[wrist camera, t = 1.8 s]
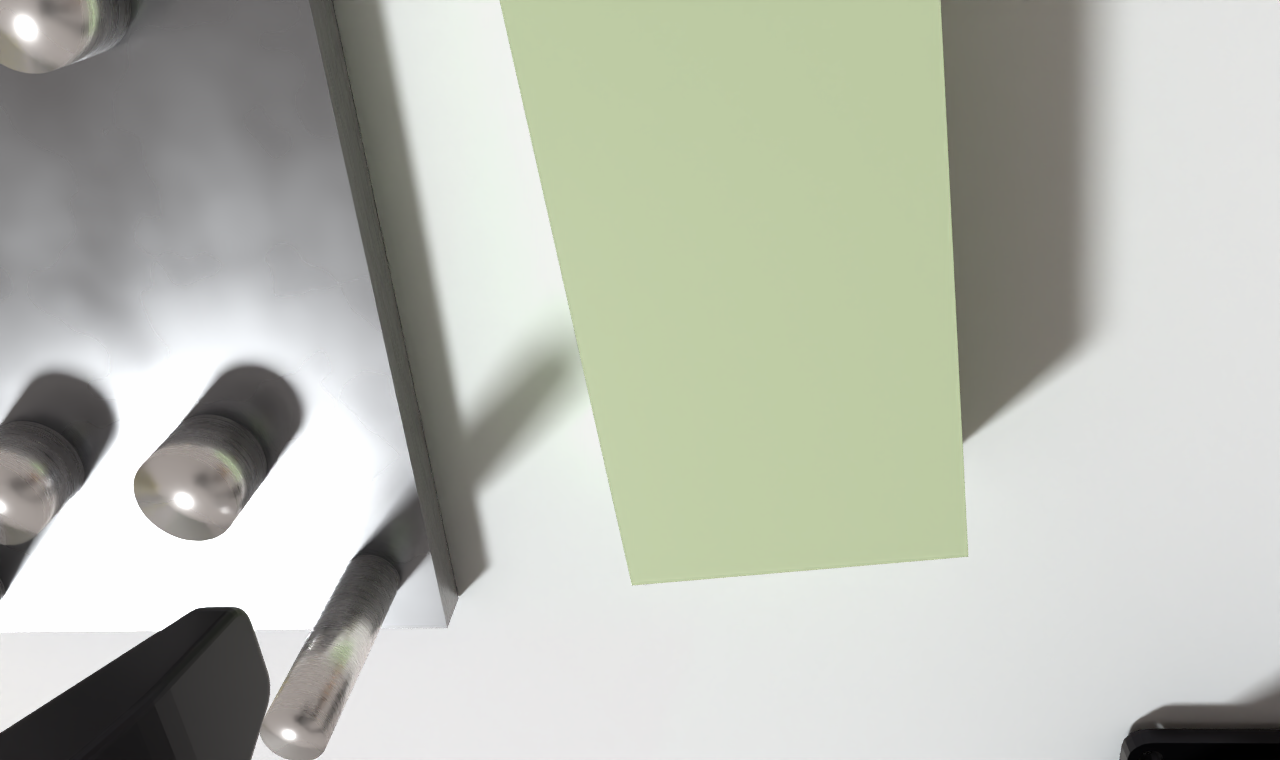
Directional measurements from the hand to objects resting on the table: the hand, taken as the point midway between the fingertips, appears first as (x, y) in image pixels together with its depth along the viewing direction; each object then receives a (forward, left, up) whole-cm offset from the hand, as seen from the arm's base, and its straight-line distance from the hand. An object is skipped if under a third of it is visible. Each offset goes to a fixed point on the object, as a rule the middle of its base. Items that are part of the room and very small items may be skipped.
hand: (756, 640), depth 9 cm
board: (0, 0, -12) cm, 12 cm away
